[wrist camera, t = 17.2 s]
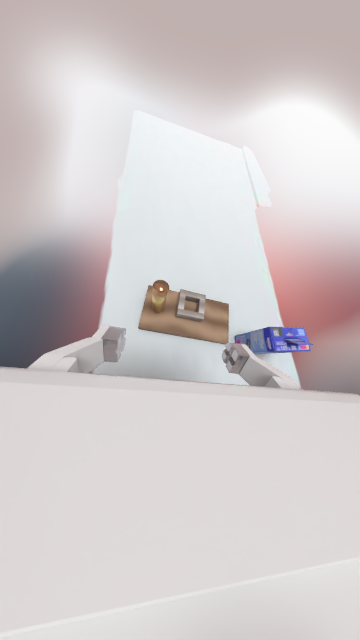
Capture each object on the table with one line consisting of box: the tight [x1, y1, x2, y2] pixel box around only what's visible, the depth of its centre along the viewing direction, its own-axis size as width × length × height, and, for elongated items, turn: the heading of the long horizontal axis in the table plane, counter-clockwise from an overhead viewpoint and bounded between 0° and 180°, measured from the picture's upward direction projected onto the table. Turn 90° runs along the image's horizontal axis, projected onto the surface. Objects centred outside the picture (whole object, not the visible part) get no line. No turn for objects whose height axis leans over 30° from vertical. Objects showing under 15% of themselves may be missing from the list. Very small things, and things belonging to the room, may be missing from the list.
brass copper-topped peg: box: [152, 280, 169, 313], centre depth 30 cm, size 3×3×10 cm
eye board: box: [139, 285, 229, 344], centre depth 35 cm, size 12×24×4 cm, turn 82°
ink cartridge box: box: [235, 327, 313, 354], centre depth 32 cm, size 10×6×14 cm, turn 92°
